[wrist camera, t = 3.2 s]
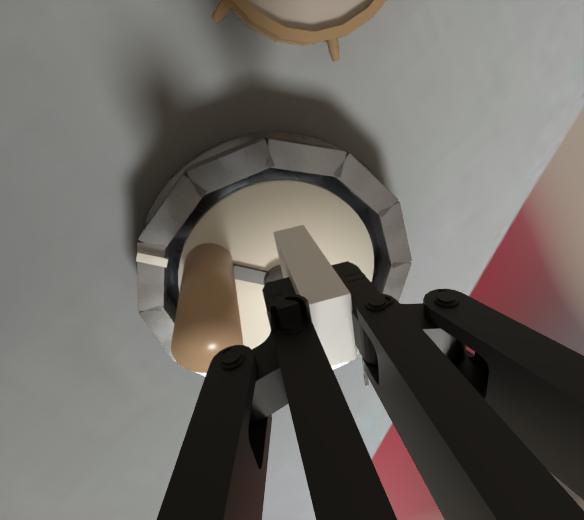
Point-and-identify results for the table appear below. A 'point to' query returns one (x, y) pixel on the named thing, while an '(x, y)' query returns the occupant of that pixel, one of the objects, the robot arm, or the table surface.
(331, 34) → the alarm clock
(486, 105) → the table surface
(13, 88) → the table surface
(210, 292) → the dial
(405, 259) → the housing
